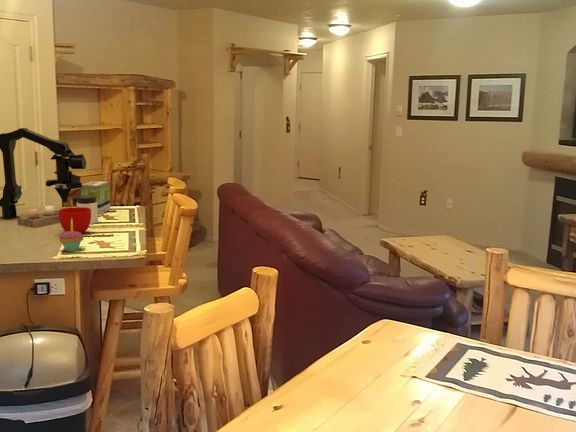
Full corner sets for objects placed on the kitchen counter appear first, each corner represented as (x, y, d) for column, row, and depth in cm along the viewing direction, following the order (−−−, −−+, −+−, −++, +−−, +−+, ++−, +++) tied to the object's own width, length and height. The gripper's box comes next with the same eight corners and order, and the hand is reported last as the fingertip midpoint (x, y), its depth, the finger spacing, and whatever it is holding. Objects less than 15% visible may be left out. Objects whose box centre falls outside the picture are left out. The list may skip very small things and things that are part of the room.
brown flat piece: (18, 224, 269) (17, 218, 268) (64, 215, 290) (63, 209, 289) (35, 227, 262) (34, 220, 262) (81, 218, 284) (80, 211, 283)
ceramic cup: (79, 227, 264) (78, 204, 262) (97, 233, 252) (96, 210, 250) (50, 231, 255) (48, 208, 253) (68, 238, 243) (66, 214, 241)
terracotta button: (27, 218, 268) (26, 209, 267) (34, 216, 271) (34, 208, 270) (32, 219, 266) (32, 210, 265) (40, 217, 269) (40, 208, 268)
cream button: (43, 215, 275) (42, 206, 274) (50, 213, 278) (50, 205, 277) (49, 216, 273) (48, 207, 272) (56, 214, 276) (56, 206, 275)
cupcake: (63, 247, 229) (61, 216, 227) (86, 246, 230) (84, 216, 227) (57, 252, 221) (54, 220, 218) (80, 252, 221) (78, 220, 219)
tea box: (101, 215, 291) (100, 185, 288) (81, 215, 291) (79, 184, 289) (111, 209, 306) (109, 180, 303) (91, 209, 306) (89, 180, 303)
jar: (100, 223, 273) (99, 197, 270) (83, 225, 267) (81, 199, 265) (93, 220, 279) (91, 194, 277) (75, 222, 274) (74, 196, 272)
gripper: (90, 168, 281) (92, 201, 284) (63, 166, 290) (65, 198, 293) (70, 171, 271) (73, 205, 274) (43, 168, 281) (46, 201, 284)
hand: (65, 202), depth 282 cm, fingers closed
